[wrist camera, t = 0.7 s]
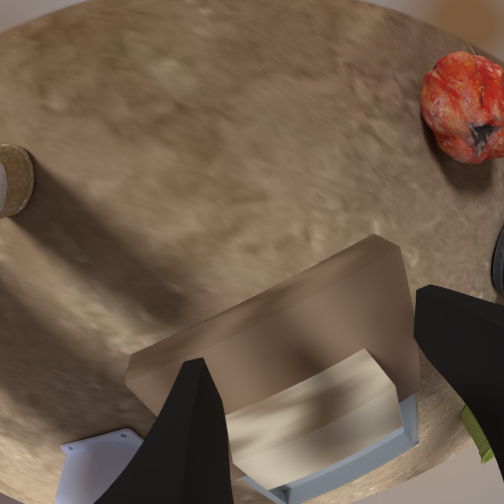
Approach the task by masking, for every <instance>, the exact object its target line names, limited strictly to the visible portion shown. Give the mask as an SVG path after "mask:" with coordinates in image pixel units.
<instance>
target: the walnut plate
mask: <svg viewBox="0 0 504 504" xmlns="http://www.w3.org/2000/svg"><path fill="white" fill-rule="evenodd" d="M413 333H414V315H413V309H412V303H411V298H410V292H409V287H408V282H407V277H406V273H405V268H404V263H403V259H402V255H401V250H400V247H399V246H397V245H395V244H393V243H391V242H389V241H388V240H386V239H384V238H382V237H380V236H378V235H376V234H372V235H370V236H369V237H367V238H365V239H363V240H361V241H359V242H358V243H356V244H354V245H352V246H350V247H348V248H347V249H345V250H343V251H341V252H339V253H337V254H335V255H334V256H332V257H330V258H328V259H326V260H324V261H322V262H320V263H319V264H317V265H315V266H313V267H311V268H309V269H307V270H305V271H303V272H301V273H300V274H298V275H296V276H294V277H292V278H290V279H288V280H286V281H284V282H282V283H280V284H278V285H276V286H274V287H272V288H270V289H268V290H266V291H264V292H262V293H260V294H258V295H256V296H254V297H252V298H250V299H248V300H246V301H244V302H242V303H240V304H238V305H236V306H234V307H232V308H230V309H228V310H226V311H224V312H222V313H220V314H218V315H216V316H214V317H212V318H210V319H207V320H205V321H203V322H201V323H199V324H197V325H195V326H193V327H191V328H188V329H186V330H184V331H182V332H180V333H178V334H176V335H174V336H171V337H169V338H167V339H165V340H163V341H161V342H158V343H156V344H154V345H152V346H150V347H147V348H145V349H143V350H141V351H138V352H136V353H134V354H132V355H131V359H130V362H129V366H128V370H127V375H126V379H125V384H126V386H127V387H128V388H129V389H130V390H131V391H132V392H133V393H134V394H135V395H136V396H137V397H138V398H139V399H140V400H141V401H142V402H143V404H144V405H145V406H146V407H147V408H148V409H149V410H150V411H151V412H152V413H153V414H154V415H155V416H156V417H158V415H159V413H160V411H161V409H162V407H163V405H164V403H165V401H166V399H167V397H168V395H169V392H170V390H171V388H172V386H173V384H174V382H175V379H176V377H177V375H178V372H179V370H180V368H181V366H182V364H183V362H184V361H188V360H192V359H197V358H201V357H203V358H204V360H205V363H206V365H207V367H208V370H209V372H210V374H211V377H212V379H213V381H214V383H215V386H216V388H217V390H218V392H219V394H220V397H221V399H222V402H223V407H224V413H225V415H228V414H231V413H233V412H236V411H238V410H241V409H243V408H245V407H248V406H250V405H253V404H255V403H257V402H259V401H262V400H264V399H266V398H269V397H271V396H273V395H275V394H277V393H280V392H282V391H284V390H286V389H288V388H290V387H292V386H294V385H296V384H299V383H301V382H303V381H305V380H307V379H309V378H311V377H313V376H315V375H316V374H318V373H320V372H322V371H324V370H326V369H328V368H330V367H332V366H334V365H335V364H337V363H339V362H341V361H343V360H344V359H346V358H348V357H350V356H352V355H353V354H355V353H357V352H359V351H360V350H362V349H364V348H365V349H366V350H367V351H368V353H369V354H370V355H371V356H372V358H373V359H374V360H375V361H376V362H377V364H378V365H379V366H380V367H381V369H382V370H383V371H384V372H385V374H386V375H387V376H388V377H389V379H390V380H391V381H392V382H393V384H394V385H395V386H396V392H397V397H398V403H401V402H402V401H404V400H405V399H407V398H408V397H410V396H411V395H413V394H414V393H416V392H417V391H419V390H420V389H421V388H422V380H421V369H420V359H419V351H418V344H417V342H416V341H415V339H414V337H413ZM225 418H226V417H225ZM226 424H227V423H226ZM227 432H228V430H227ZM228 447H229V462H230V476H231V480H235V479H238V478H241V477H244V476H247V474H246V473H244V472H243V471H242V470H241V469H239V468H238V467H237V466H236V465H235V464H233V460H232V454H231V448H230V442H229V436H228Z"/></svg>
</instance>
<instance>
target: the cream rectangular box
mask: <svg viewBox="0 0 504 504" xmlns="http://www.w3.org/2000/svg"><path fill="white" fill-rule="evenodd" d="M225 417H226V423H227V430H228V436H229V442H230V448H231V454H232V460H233V464H235V465H236V466H237V467H238V468H239V469H241V470H242V471H243V472H244V473H246V474H247V475H248V476H249V477H250V478H252V479H253V480H254V481H256V482H257V483H258V484H259V485H261V486H262V487H263V488H265V489H266V490H270V489H273V488H276V487H279V486H282V485H284V484H287V483H290V482H292V481H295V480H297V479H300V478H302V477H305V476H307V475H310V474H312V473H314V472H317V471H319V470H321V469H324V468H326V467H328V466H330V465H332V464H334V463H337V462H339V461H341V460H343V459H345V458H347V457H349V456H351V455H353V454H355V453H357V452H359V451H360V450H362V449H364V448H366V447H368V446H370V445H372V444H373V443H375V442H377V441H379V440H380V439H382V438H384V437H386V436H387V435H389V434H391V433H392V432H394V431H396V430H397V429H399V428H400V427H402V421H401V415H400V409H399V403H398V397H397V392H396V386H395V385H394V384H393V382H392V381H391V380H390V379H389V377H388V376H387V375H386V374H385V372H384V371H383V370H382V369H381V367H380V366H379V365H378V364H377V362H376V361H375V360H374V359H373V358H372V356H371V355H370V354H369V353H368V351H367V350H366V349H365V348H364V349H362V350H360V351H359V352H357V353H355V354H353V355H352V356H350V357H348V358H346V359H344V360H343V361H341V362H339V363H337V364H335V365H334V366H332V367H330V368H328V369H326V370H324V371H322V372H320V373H318V374H316V375H315V376H313V377H311V378H309V379H307V380H305V381H303V382H301V383H299V384H296V385H294V386H292V387H290V388H288V389H286V390H284V391H282V392H280V393H277V394H275V395H273V396H271V397H269V398H266V399H264V400H262V401H259V402H257V403H255V404H253V405H250V406H248V407H245V408H243V409H241V410H238V411H236V412H233V413H231V414H228V415H225Z"/></svg>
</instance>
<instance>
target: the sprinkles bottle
mask: <svg viewBox="0 0 504 504" xmlns="http://www.w3.org/2000/svg"><path fill="white" fill-rule="evenodd" d="M33 186H34V170H33V165H32V163H31V160H30V158H29V156H28V154H27V152H26V151H25V150H24V149H23V148H21V147H20V146H17V145H15V144H10V143H7V144H3V145H0V219H1V218H3V217H7V216H11V215H15V214H17V213H19V212H20V211H21V210H22V209H23V208H24V207H25V206H26V205H27V203H28V201H29V199H30V197H31V193H32V191H33Z"/></svg>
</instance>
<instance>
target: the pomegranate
mask: <svg viewBox="0 0 504 504" xmlns="http://www.w3.org/2000/svg"><path fill="white" fill-rule="evenodd" d="M420 107H421V111H422V116H423V118H424V120H425V121H426V123H427V124H428V126H429V127H430V128H431V129H432V131H433V132H434V134H435V137H436V140H437V143H438V145H439V147H440V148H441V149H442V150H443V151H444V152H445V153H446V154H447V155H449V156H450V157H452V158H453V159H455V160H456V161H459V162H462V163H467V164H480V163H482V162H484V161H485V160H487V159H489V158H501V157H504V70H503V69H502V68H501V67H500V66H499V65H497V64H493V63H492V62H491V61H489V60H487V59H486V58H485V57H483V56H478V55H471V54H469V53H467V52H463V51H461V52H454V53H450V54H449V55H446V56H444V57H443V58H441V59H440V60H439V61H438V62H437V63H436V65H435V66H434V68H433V69H432V70H431V71H429V72H428V73H426V74H425V76H424V79H423V82H422V87H421V93H420Z"/></svg>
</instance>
